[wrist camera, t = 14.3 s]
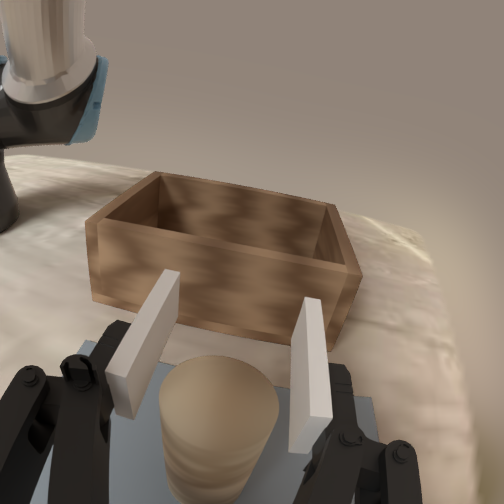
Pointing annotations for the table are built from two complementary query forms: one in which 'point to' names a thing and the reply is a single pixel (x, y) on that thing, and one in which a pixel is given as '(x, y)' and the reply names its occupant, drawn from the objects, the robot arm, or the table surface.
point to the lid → (206, 438)
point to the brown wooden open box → (224, 255)
